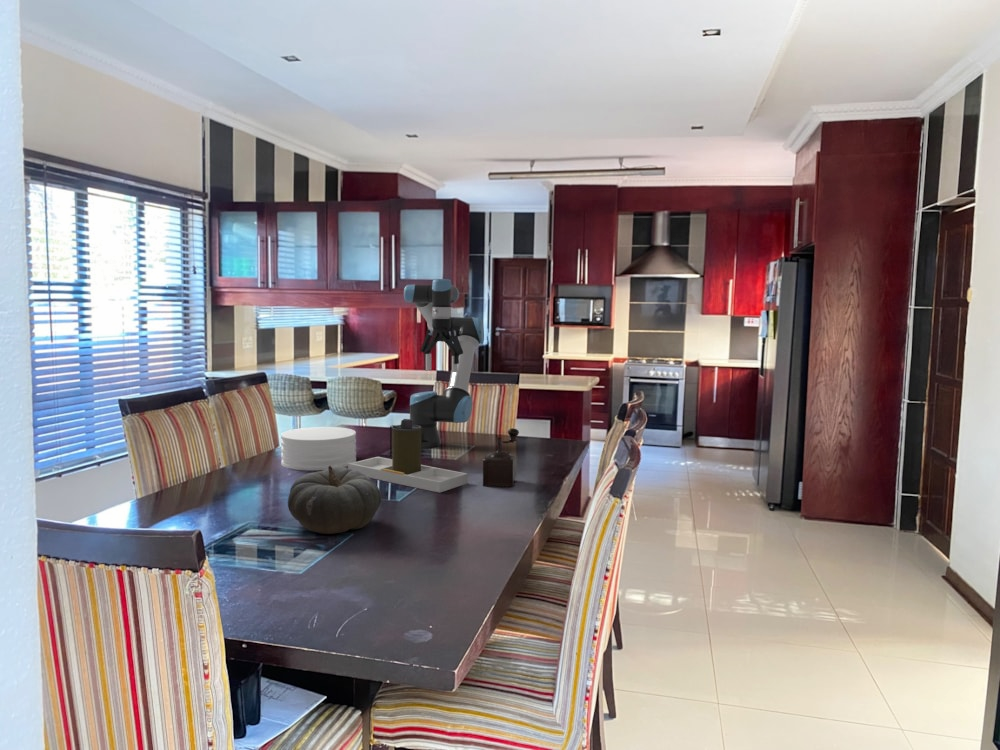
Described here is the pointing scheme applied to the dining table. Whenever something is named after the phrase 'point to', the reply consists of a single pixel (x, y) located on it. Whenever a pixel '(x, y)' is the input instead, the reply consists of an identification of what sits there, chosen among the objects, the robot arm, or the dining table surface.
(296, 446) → the plate stack
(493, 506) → the dining table surface
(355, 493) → the gourd
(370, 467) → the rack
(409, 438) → the canister
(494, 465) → the pepper mill
